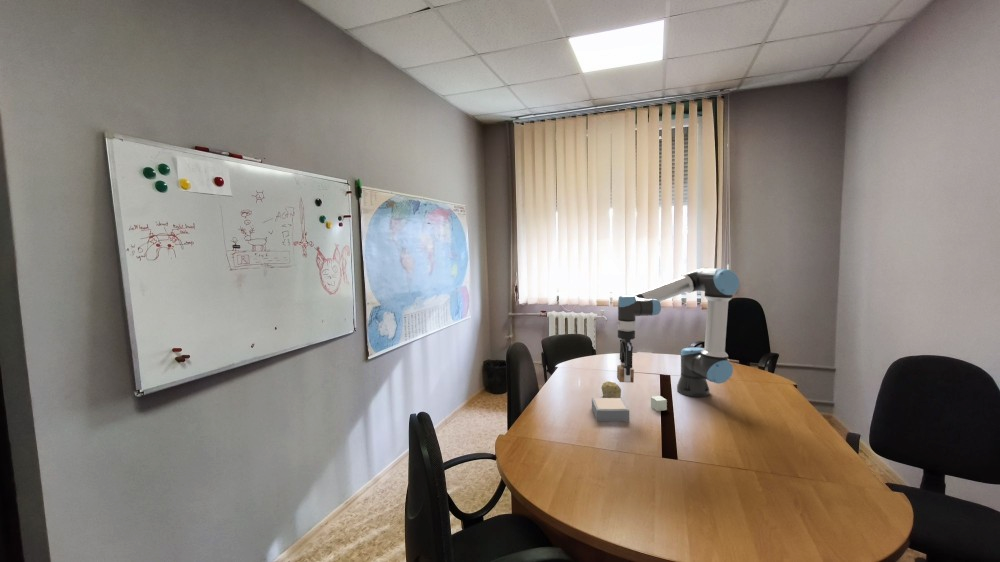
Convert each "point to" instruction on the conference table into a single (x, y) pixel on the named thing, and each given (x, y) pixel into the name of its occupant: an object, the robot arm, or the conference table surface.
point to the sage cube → (658, 403)
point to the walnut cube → (621, 373)
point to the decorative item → (611, 390)
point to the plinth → (610, 409)
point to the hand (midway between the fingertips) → (625, 379)
